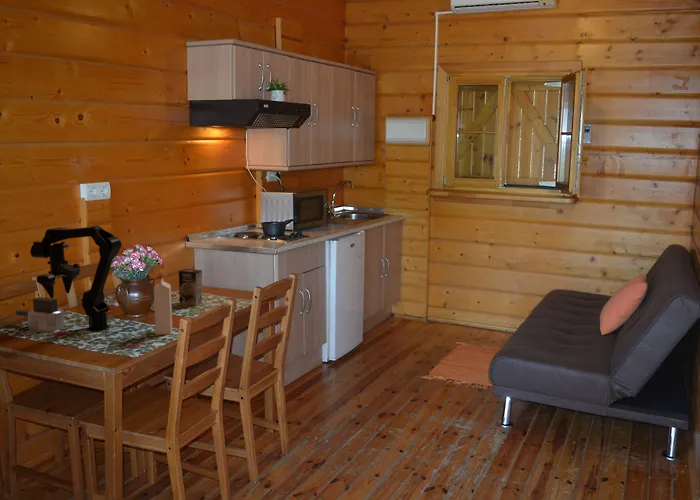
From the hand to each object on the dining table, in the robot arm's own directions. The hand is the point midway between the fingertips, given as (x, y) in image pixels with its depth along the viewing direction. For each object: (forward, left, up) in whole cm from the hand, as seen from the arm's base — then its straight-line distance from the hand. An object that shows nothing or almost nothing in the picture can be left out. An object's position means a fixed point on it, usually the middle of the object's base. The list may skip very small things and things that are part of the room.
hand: (60, 295), depth 278 cm
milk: (-45, -7, -13) cm, 47 cm away
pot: (+8, +4, -13) cm, 16 cm away
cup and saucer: (+4, +4, -8) cm, 10 cm away
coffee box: (-30, -51, -13) cm, 60 cm away
